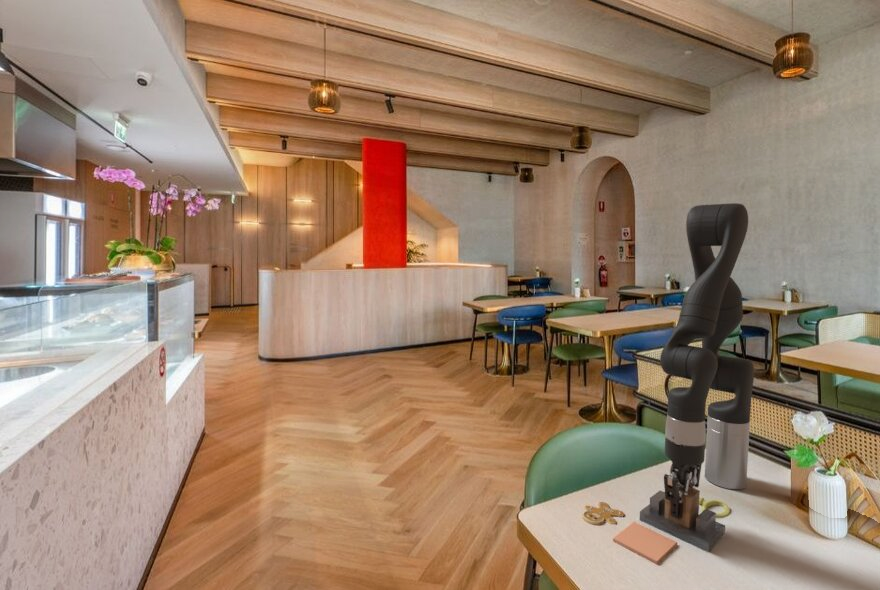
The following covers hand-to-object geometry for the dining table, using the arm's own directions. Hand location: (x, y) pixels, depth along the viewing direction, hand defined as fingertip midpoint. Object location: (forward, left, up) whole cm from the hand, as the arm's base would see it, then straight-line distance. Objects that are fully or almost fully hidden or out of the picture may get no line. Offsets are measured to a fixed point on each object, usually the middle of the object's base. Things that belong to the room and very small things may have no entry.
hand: (681, 512), depth 94 cm
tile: (+11, -3, -3) cm, 12 cm away
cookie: (+9, -14, -4) cm, 17 cm away
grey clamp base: (0, 0, -3) cm, 3 cm away
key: (-14, -1, -4) cm, 14 cm away
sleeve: (0, 0, -1) cm, 1 cm away
